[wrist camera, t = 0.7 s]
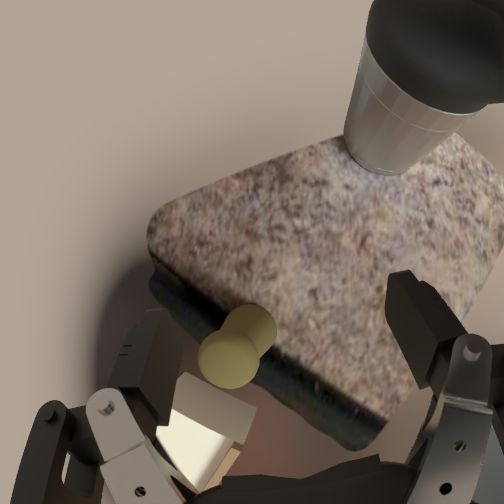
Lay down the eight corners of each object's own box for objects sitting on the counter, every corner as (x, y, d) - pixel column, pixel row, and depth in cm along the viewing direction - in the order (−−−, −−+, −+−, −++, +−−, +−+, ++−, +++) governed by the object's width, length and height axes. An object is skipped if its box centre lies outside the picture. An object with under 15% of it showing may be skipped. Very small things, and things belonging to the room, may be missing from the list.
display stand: (185, 371, 35) (150, 404, 26) (257, 407, 33) (240, 451, 24) (157, 439, 36) (127, 473, 27) (217, 471, 35) (197, 511, 26)
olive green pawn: (238, 361, 34) (207, 406, 23) (215, 316, 34) (174, 345, 23) (285, 343, 32) (273, 387, 22) (262, 295, 33) (239, 319, 22)
